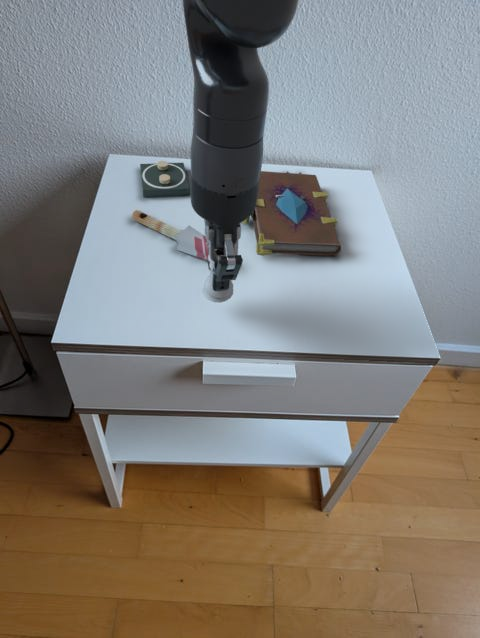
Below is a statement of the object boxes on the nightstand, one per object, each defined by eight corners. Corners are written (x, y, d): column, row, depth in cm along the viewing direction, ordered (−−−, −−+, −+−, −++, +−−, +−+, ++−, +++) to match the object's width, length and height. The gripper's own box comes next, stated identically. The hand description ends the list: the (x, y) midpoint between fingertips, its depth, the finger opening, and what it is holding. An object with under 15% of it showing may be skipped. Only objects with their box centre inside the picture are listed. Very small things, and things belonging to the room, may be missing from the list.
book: (310, 177, 89) (317, 155, 85) (338, 262, 74) (348, 240, 70) (232, 171, 86) (236, 149, 82) (246, 259, 71) (251, 236, 67)
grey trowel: (224, 261, 66) (126, 213, 72) (224, 274, 68) (129, 226, 75) (238, 248, 68) (142, 202, 74) (237, 260, 70) (144, 215, 77)
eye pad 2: (159, 184, 79) (159, 180, 78) (159, 177, 80) (158, 174, 79) (170, 184, 79) (170, 180, 78) (169, 177, 80) (169, 173, 79)
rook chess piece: (215, 276, 64) (217, 236, 57) (239, 291, 62) (244, 251, 56) (196, 294, 61) (196, 253, 55) (220, 309, 60) (224, 270, 54)
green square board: (143, 197, 79) (142, 189, 78) (140, 170, 84) (140, 163, 82) (188, 195, 80) (188, 187, 79) (183, 169, 85) (183, 161, 84)
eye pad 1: (157, 170, 81) (157, 166, 81) (157, 164, 82) (156, 160, 82) (168, 170, 82) (168, 166, 81) (167, 164, 83) (167, 160, 82)
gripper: (183, 134, 49) (185, 245, 63) (200, 213, 41) (198, 321, 55) (246, 133, 51) (235, 242, 64) (275, 209, 42) (255, 315, 56)
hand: (218, 278), depth 59 cm, fingers closed on rook chess piece, 3 cm apart
